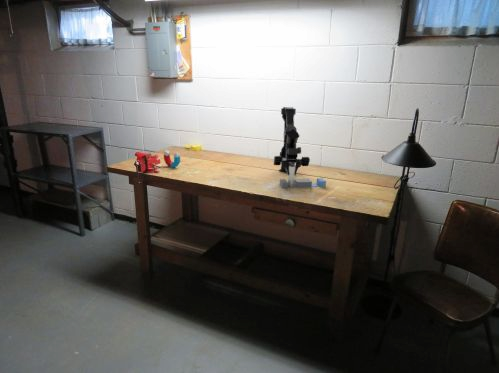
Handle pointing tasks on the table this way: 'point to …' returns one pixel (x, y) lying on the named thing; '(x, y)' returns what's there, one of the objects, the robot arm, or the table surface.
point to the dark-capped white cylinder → (291, 174)
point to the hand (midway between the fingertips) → (291, 174)
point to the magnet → (168, 160)
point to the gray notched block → (303, 183)
